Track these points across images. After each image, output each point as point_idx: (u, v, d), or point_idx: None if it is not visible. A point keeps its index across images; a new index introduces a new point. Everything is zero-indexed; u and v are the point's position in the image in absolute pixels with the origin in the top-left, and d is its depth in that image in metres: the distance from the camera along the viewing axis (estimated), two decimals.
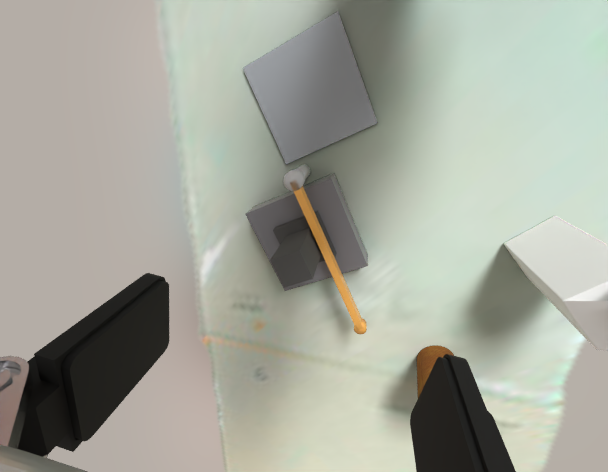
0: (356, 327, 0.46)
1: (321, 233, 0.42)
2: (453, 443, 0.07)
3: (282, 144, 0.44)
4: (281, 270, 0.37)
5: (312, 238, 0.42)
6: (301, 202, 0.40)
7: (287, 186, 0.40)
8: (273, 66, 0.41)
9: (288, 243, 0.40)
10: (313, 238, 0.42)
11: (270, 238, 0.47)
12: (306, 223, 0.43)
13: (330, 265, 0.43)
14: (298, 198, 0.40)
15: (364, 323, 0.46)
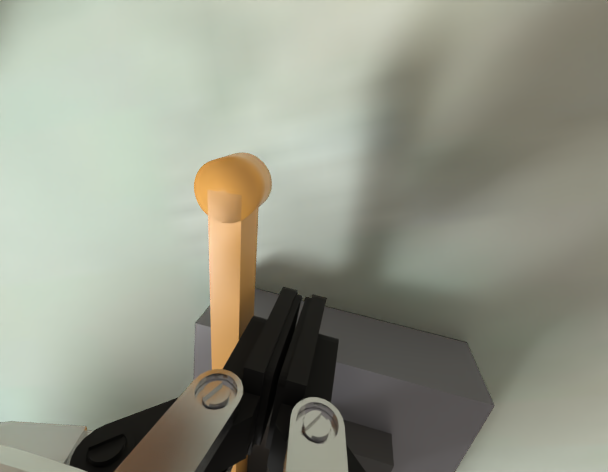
0: (242, 204, 0.09)
1: None
2: None
3: None
4: None
5: None
6: None
7: None
8: None
9: None
10: None
11: None
12: None
13: None
14: None
15: None
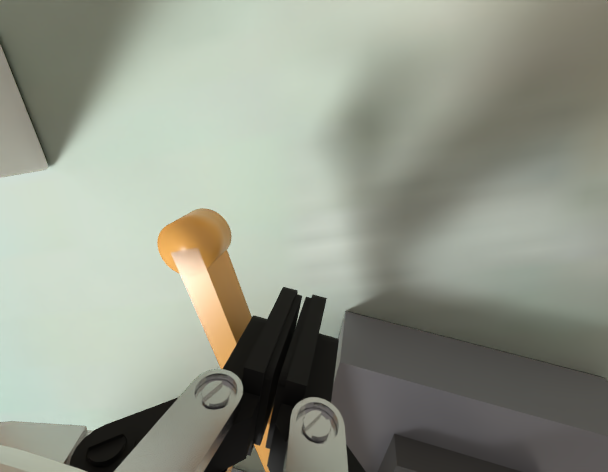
0: (203, 254, 0.10)
1: None
2: None
3: None
4: None
5: None
6: None
7: None
8: None
9: None
10: None
11: None
12: None
13: None
14: None
15: None
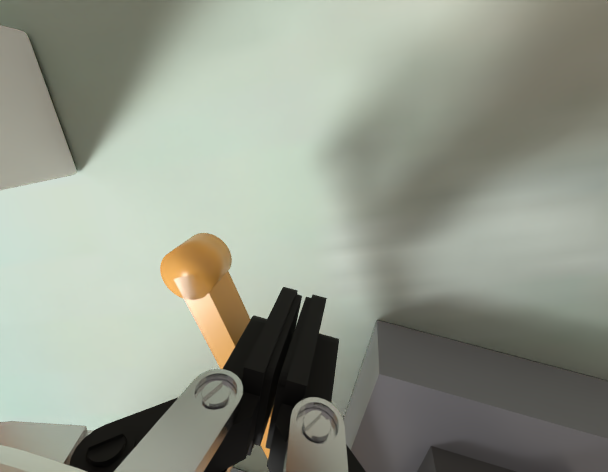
0: (204, 279, 0.10)
1: None
2: None
3: None
4: None
5: None
6: None
7: None
8: None
9: None
10: None
11: None
12: None
13: None
14: None
15: None
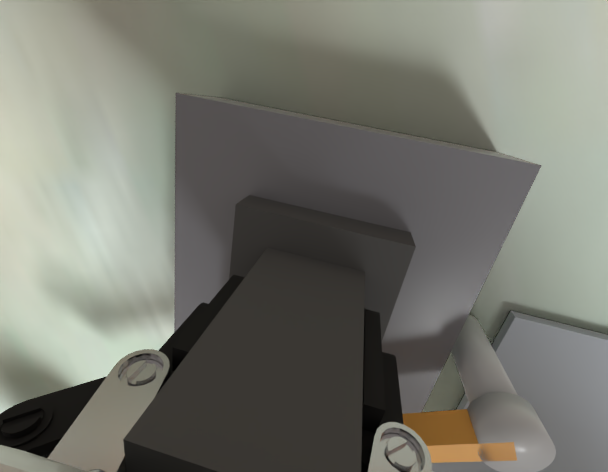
0: None
1: None
2: None
3: (562, 340, 0.17)
4: None
5: None
6: (432, 452, 0.12)
7: (501, 433, 0.11)
8: None
9: None
10: None
11: (386, 186, 0.12)
12: None
13: None
14: (448, 448, 0.12)
15: None
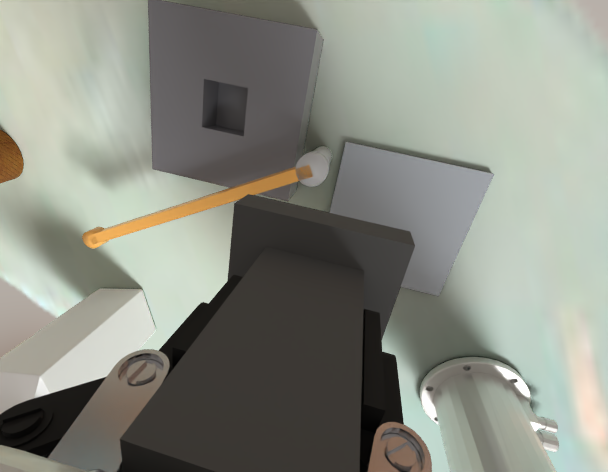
0: (90, 234, 0.31)
1: None
2: None
3: (372, 155, 0.30)
4: None
5: None
6: (277, 179, 0.25)
7: (303, 160, 0.24)
8: (457, 210, 0.30)
9: None
10: None
11: (253, 45, 0.25)
12: None
13: (180, 210, 0.28)
14: (283, 175, 0.25)
15: (102, 243, 0.32)
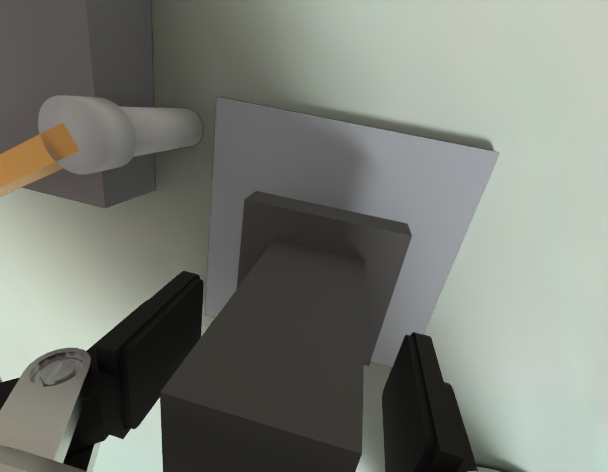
0: None
1: None
2: (411, 408, 0.08)
3: (266, 122, 0.16)
4: (267, 452, 0.06)
5: None
6: (13, 160, 0.11)
7: (48, 111, 0.10)
8: (431, 224, 0.16)
9: None
10: None
11: None
12: None
13: None
14: (22, 150, 0.11)
15: None
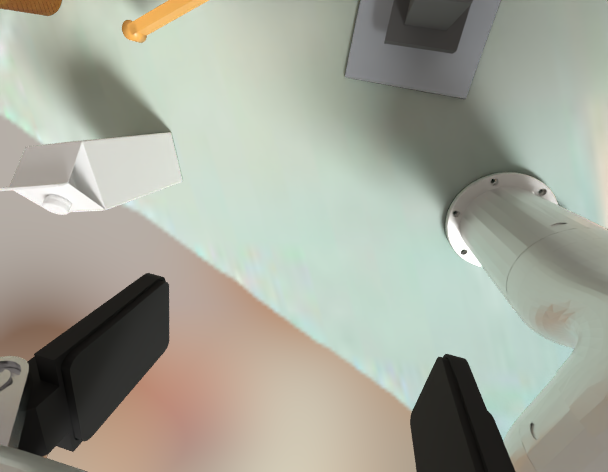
0: (130, 23, 0.32)
1: None
2: (453, 443, 0.07)
3: None
4: None
5: (436, 24, 0.28)
6: None
7: None
8: None
9: None
10: (433, 26, 0.29)
11: None
12: (454, 26, 0.29)
13: None
14: None
15: (140, 38, 0.33)
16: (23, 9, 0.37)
